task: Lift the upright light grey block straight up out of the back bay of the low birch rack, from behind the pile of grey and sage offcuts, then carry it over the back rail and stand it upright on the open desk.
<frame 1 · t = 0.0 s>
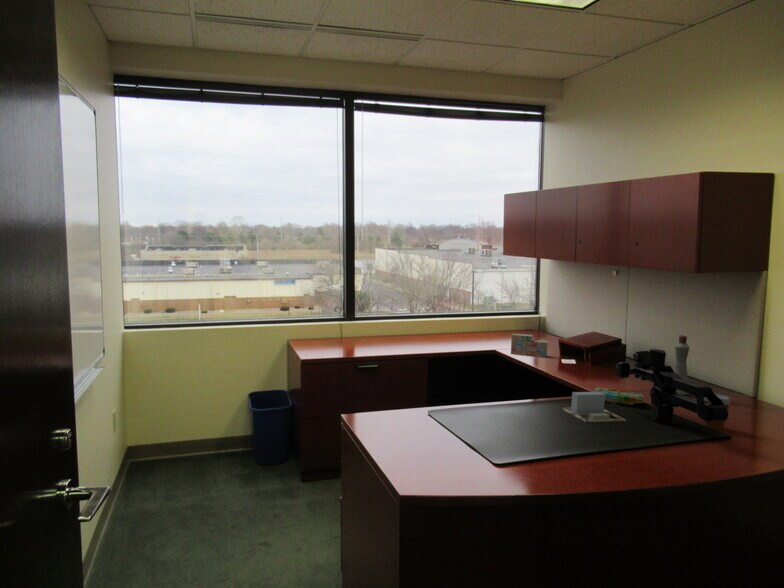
hand: (625, 365, 250), 17 cm above the table, tool horizontal, fingers open, 9 cm apart
bottle: (677, 394, 275), on the table
disposable coffee cup: (713, 427, 223), on the table
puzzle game: (617, 402, 254), on the table
offcut lower: (598, 423, 222), on the table, touching offcut upper
offcut upper: (598, 418, 222), point 1 cm above the table, touching offcut lower
light grey block: (586, 415, 230), on the table
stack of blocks: (528, 355, 356), on the table
rack: (592, 418, 226), on the table
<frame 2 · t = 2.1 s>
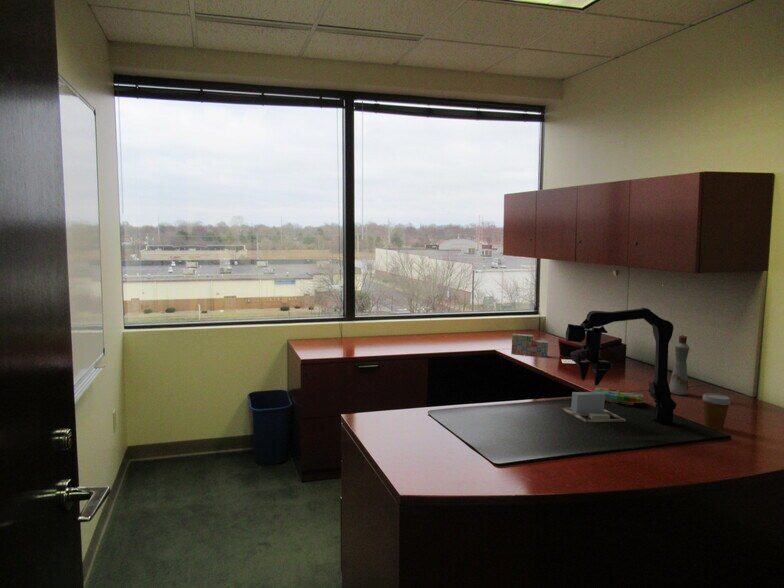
hand: (589, 382, 229), 13 cm above the table, tool pointing down, fingers open, 9 cm apart
nothing on the table moved.
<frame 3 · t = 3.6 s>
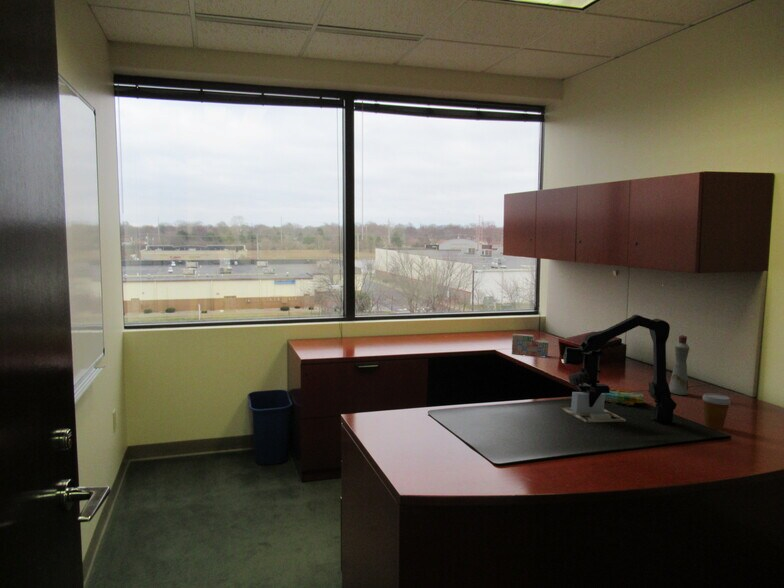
hand: (587, 405, 229), 4 cm above the table, tool pointing down, fingers closed on light grey block, 4 cm apart
light grey block: (586, 415, 230), on the table, touching gripper
everything else where it was.
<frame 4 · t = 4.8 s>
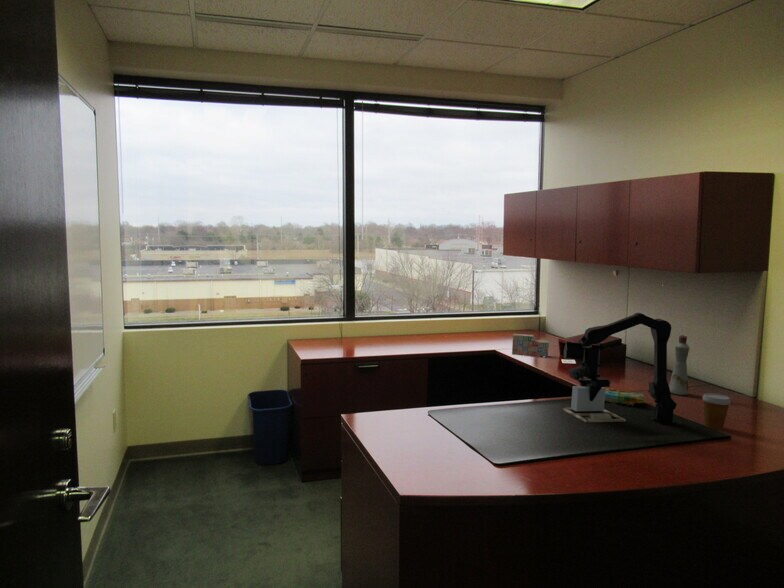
hand: (588, 399, 229), 6 cm above the table, tool pointing down, fingers closed on light grey block, 4 cm apart
offcut lower: (599, 423, 221), on the table
offcut upper: (600, 418, 221), point 1 cm above the table
light grey block: (587, 409, 229), point 2 cm above the table, touching gripper
everything else where it was.
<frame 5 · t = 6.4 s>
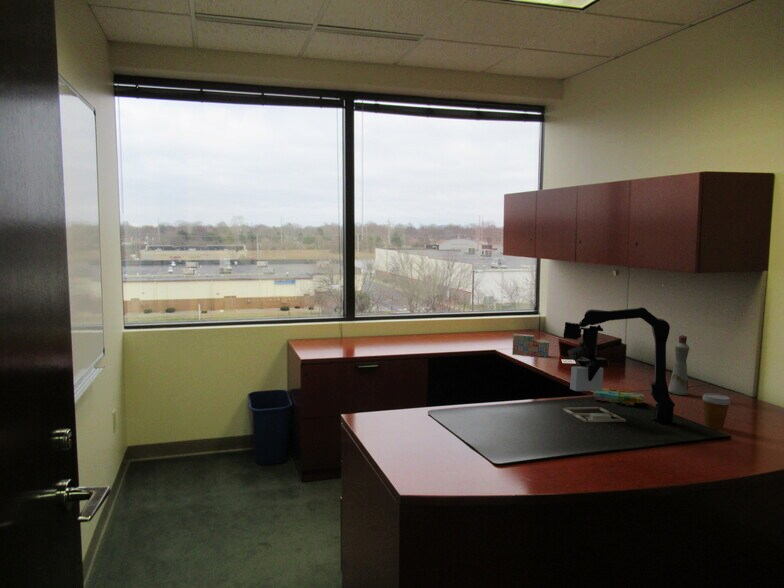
hand: (586, 379, 234), 13 cm above the table, tool pointing down, fingers closed on light grey block, 4 cm apart
light grey block: (585, 389, 234), point 9 cm above the table, touching gripper
everything else where it was.
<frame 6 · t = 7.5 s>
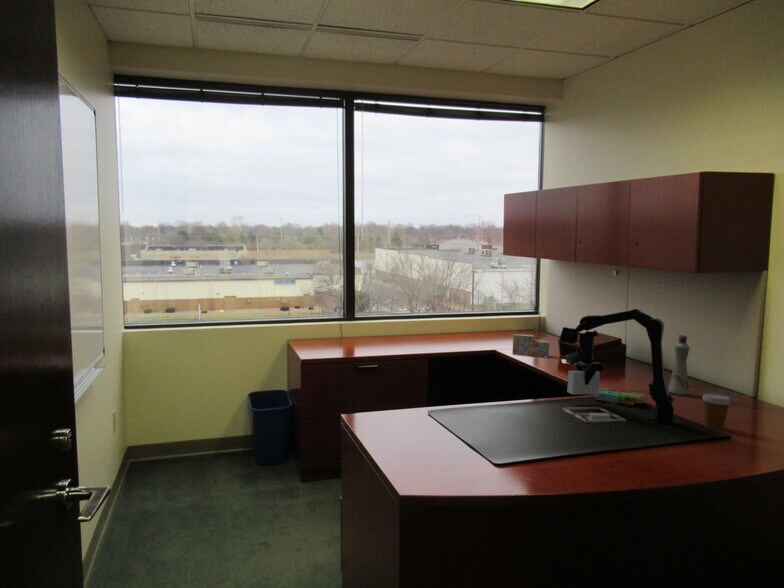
hand: (583, 383, 241), 10 cm above the table, tool pointing down, fingers closed on light grey block, 4 cm apart
offcut lower: (598, 423, 222), on the table, touching offcut upper
offcut upper: (599, 418, 222), point 1 cm above the table, touching offcut lower
light grey block: (582, 393, 242), point 6 cm above the table, touching gripper
everything else where it was.
when the fingers open (5 cm above the table, at t = 8.5 s): light grey block drops 2 cm, on the table.
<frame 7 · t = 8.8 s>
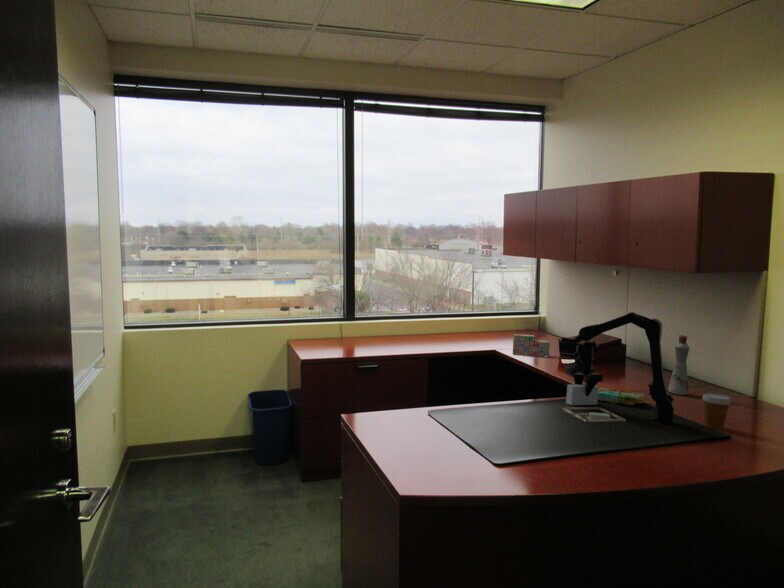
hand: (582, 393, 242), 5 cm above the table, tool pointing down, fingers open, 7 cm apart
light grey block: (581, 406, 242), on the table
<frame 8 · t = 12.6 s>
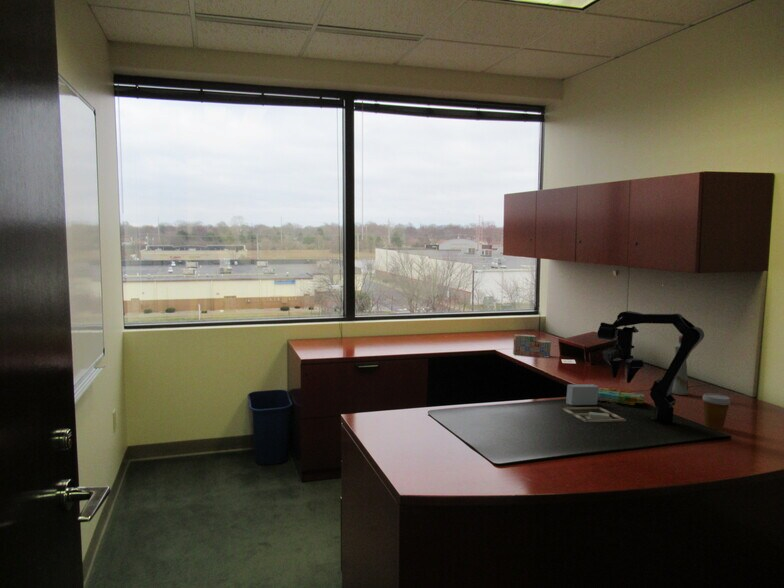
hand: (621, 380, 236), 13 cm above the table, tool pointing down, fingers open, 9 cm apart
offcut lower: (598, 422, 222), on the table
offcut upper: (598, 417, 222), point 1 cm above the table
at the end: light grey block inside the target area (0.0 cm from its centre), on the table; light grey block tilted 0°; offcut upper moved 0.6 cm from its start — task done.
